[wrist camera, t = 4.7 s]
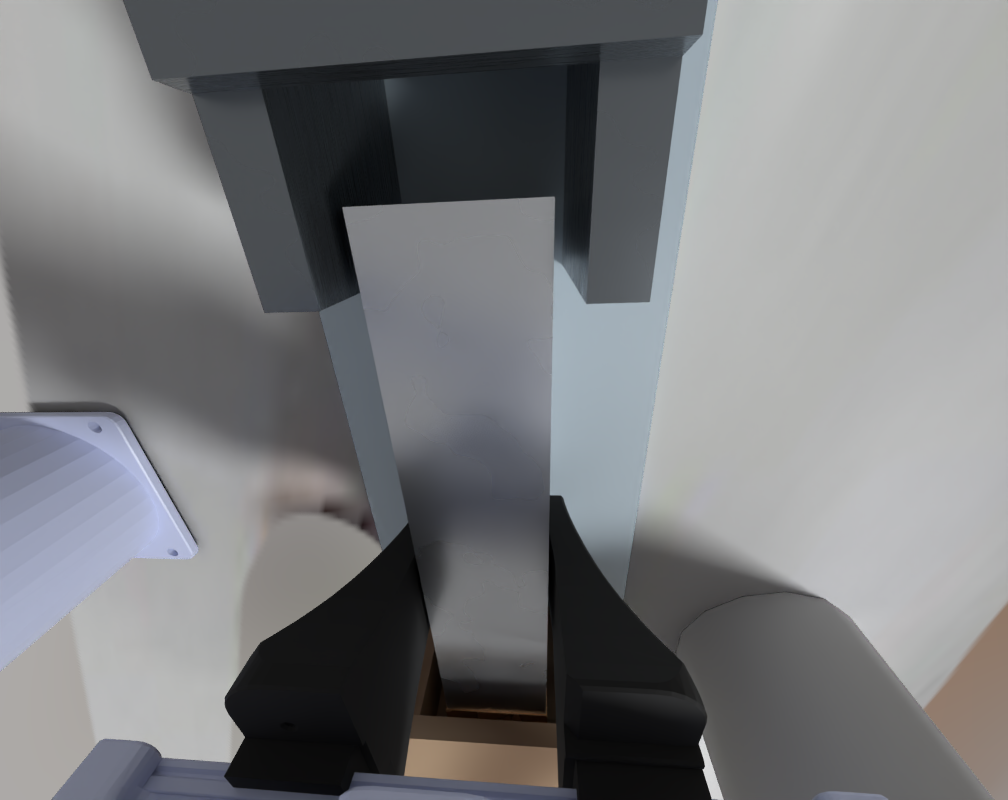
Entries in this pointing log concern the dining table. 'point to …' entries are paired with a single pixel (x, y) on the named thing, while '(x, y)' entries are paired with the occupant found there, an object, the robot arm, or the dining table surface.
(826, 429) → the dining table surface
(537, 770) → the socket
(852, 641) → the cup
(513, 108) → the board
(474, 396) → the bar
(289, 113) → the sleeve
